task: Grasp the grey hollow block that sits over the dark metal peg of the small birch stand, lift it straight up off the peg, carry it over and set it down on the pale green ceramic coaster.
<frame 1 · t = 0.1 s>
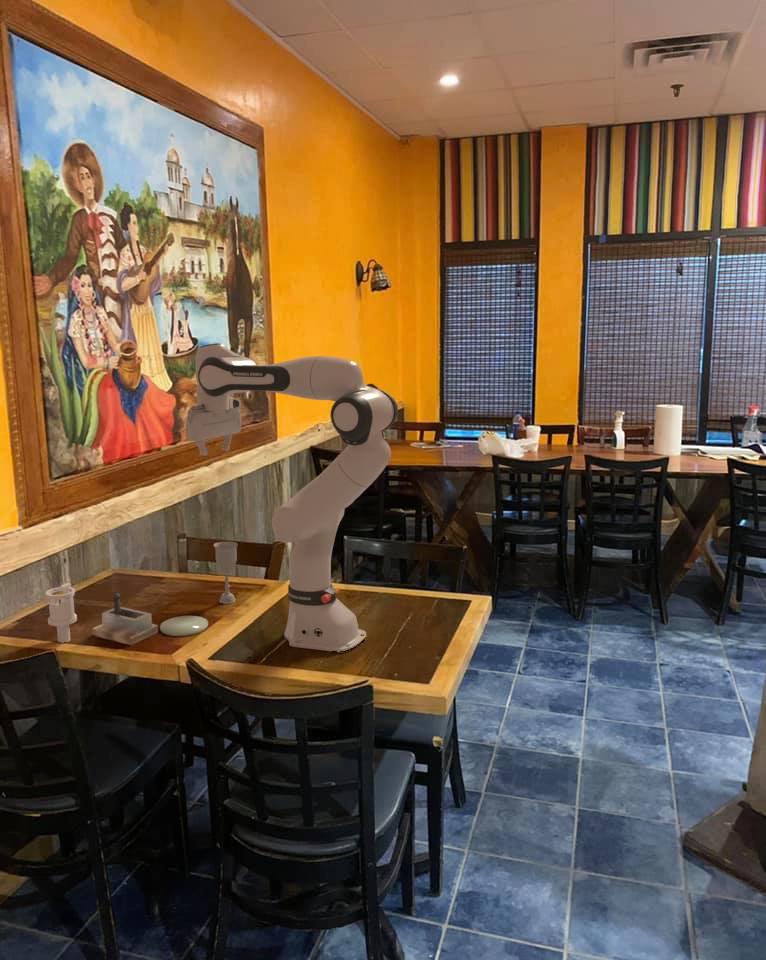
hand: (215, 452, 212), 48 cm above the table, tool pointing down, fingers open, 8 cm apart
chalice: (227, 601, 232), on the table
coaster: (184, 627, 212), on the table
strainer: (64, 641, 202), on the table
stand: (125, 633, 207), on the table
grey hollow block: (127, 627, 206), point 2 cm above the table, touching stand
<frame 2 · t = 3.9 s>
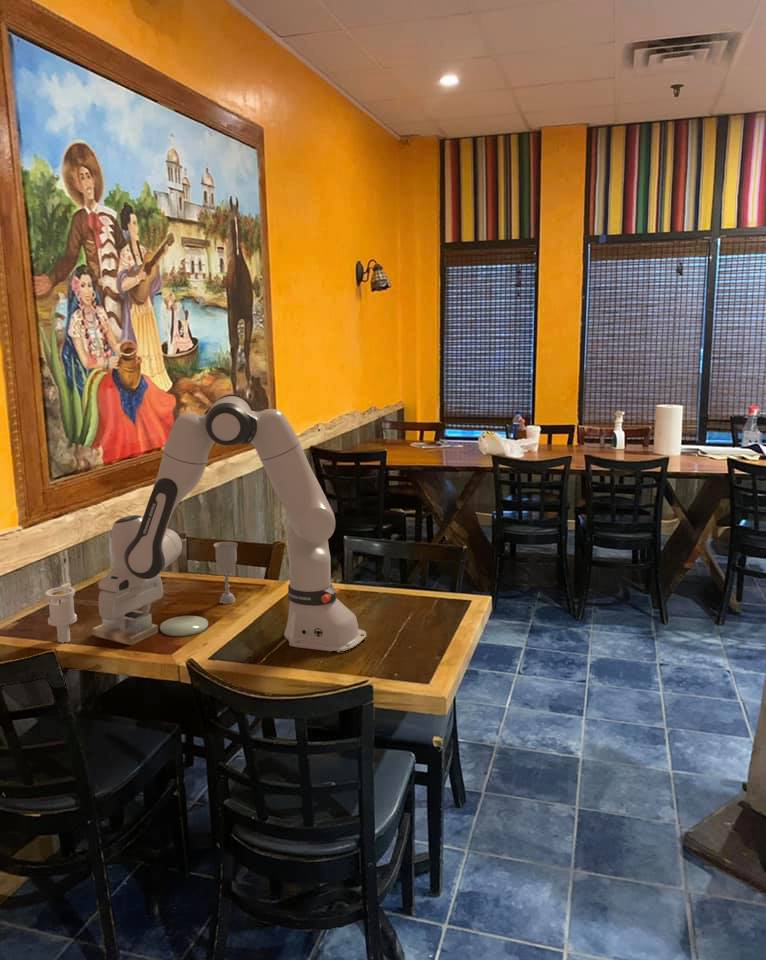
hand: (134, 624, 205), 3 cm above the table, tool pointing down, fingers closed on grey hollow block, 6 cm apart
grey hollow block: (127, 627, 206), point 2 cm above the table, touching gripper, stand
everything else where it was.
when the fingers open (4 cm above the table, at t = 10.6 s): grey hollow block drops 1 cm, resting on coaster.
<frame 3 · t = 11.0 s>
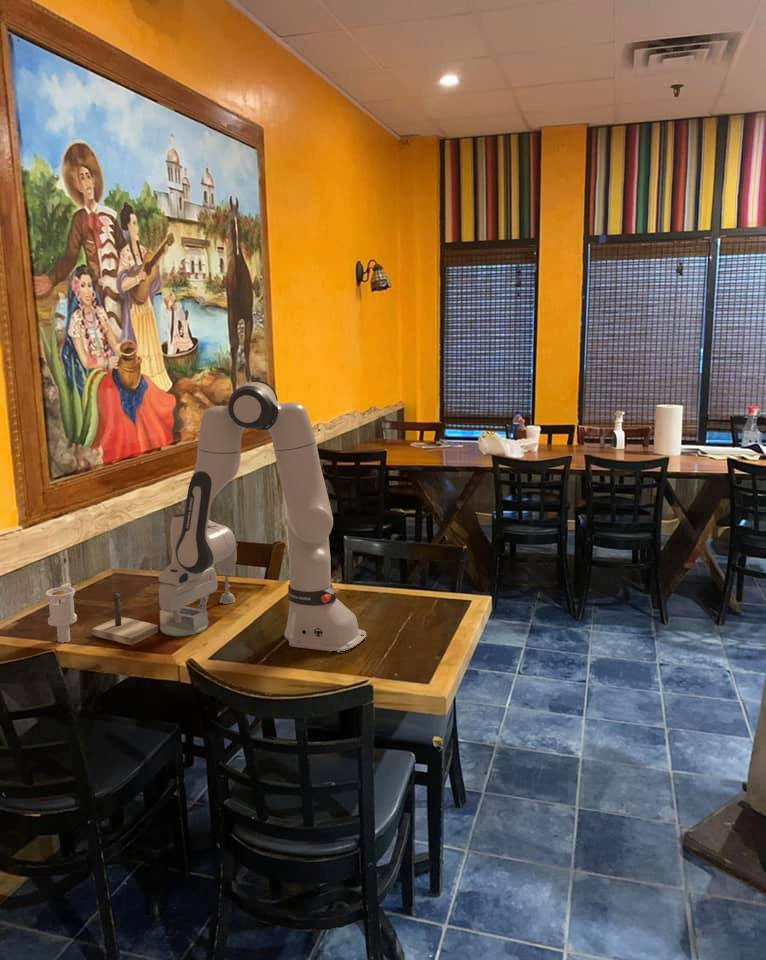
hand: (190, 616, 210), 4 cm above the table, tool pointing down, fingers open, 8 cm apart
grey hollow block: (184, 624, 212), point 1 cm above the table, touching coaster
everything else where it was.
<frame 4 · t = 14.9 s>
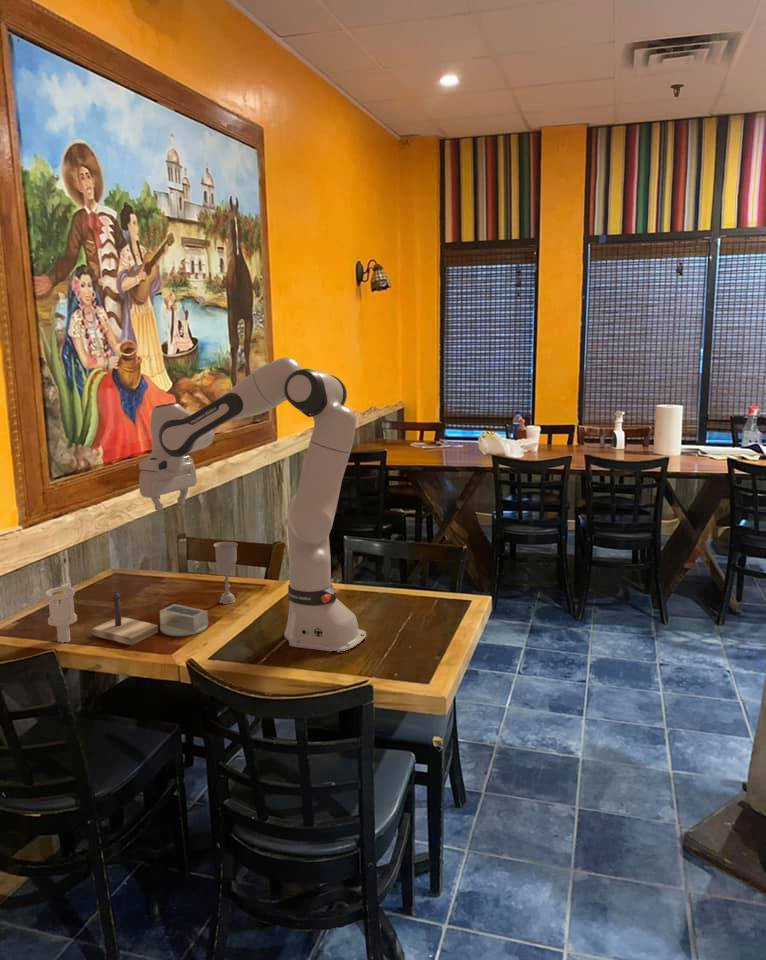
hand: (170, 506, 220), 31 cm above the table, tool pointing down, fingers open, 8 cm apart
nothing on the table moved.
at the end: grey hollow block inside the target area on the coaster (0.1 cm from its centre), point 0.8 cm above the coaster's base; grey hollow block touching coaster; the gripper is holding nothing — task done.
